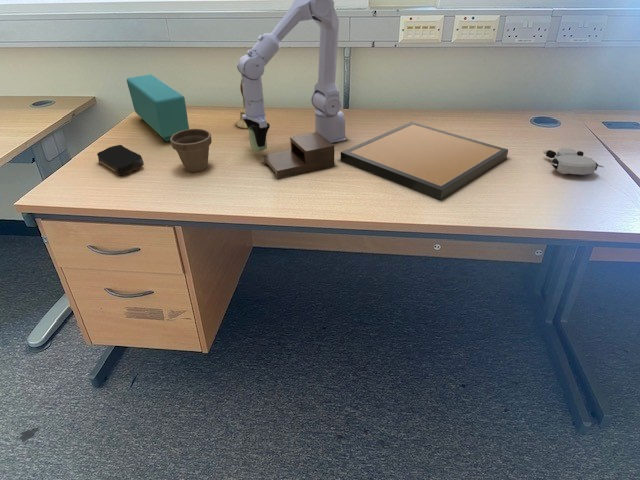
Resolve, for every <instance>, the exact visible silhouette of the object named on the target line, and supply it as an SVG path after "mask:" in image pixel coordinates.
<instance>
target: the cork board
mask: <svg viewBox="0 0 640 480" xmlns="http://www.w3.org/2000/svg"><path fill="white" fill-rule="evenodd" d="M508 154H509V149H507V148H504V147H501V146H497V145H494V144H490V143H488V142H483V141H480V140H477V139H473V138H471V137H470V138H469V137H466V136H463V135H459V134H456V133H452V132H449V131H445V130H442V129H439V128H434V127H432V126H428V125H423V124H420V123H418V122H414V121H409V122H407V123H405V124H403V125H401V126H400V125H399V126H398V127H396V128H393V129H391V130H389V131H387V132H384V133H382V134H380V135H377V136H375V137H372V138H370V139H368V140H365V141H362V142H361V143H359V144H356V145H354V146H352V147H349V148H346V149H344V150H343V151H340V162H342V163H345V164H347V165H350V166H353V167H355V168H358V169H360V170H363V171H364V172H365V171H366V172H368V173H369V174H373V175H376V176H377V177H378V176H379V177H381V178H383V179H385V180H388V181H390V182H393V183H396V184H398V185H400V186H403V187H406V188H407V189H411V190H414V191H416V192H419V193H421V194H424V195H425V196H428V197H431V198H434V199H435V200H439V201H442V200H443V199H445V198H446V197H448V196H450V195H451V194H453V193H454V192H456V191H457V190H459V189H461V188H463V187H464V186H466V185H467V184H468V183H470V182H472V181H474V179H476V178H478V177H480V176H482V175H483V174H484V173H486V172H487V171H489V170H490V169H492V168H494V167H496V166H497V165H498V164H500V163H502V162H504V161H505V160H507V158H508Z"/></svg>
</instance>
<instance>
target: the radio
mask: <svg viewBox="0 0 640 480" xmlns="http://www.w3.org/2000/svg"><path fill="white" fill-rule="evenodd" d="M126 84H127V88H128V91H129V94H130V98H131V103H132V106H133V109H134V112H135V113H136V115H137V116H139V117H140V118H141V119H142V120H143V122H145V123H146V124H147V125H148V126H149V127H150V128H152V130H154V131H155V133H157V135H159V136H160V137H161V138H163V140H164V142H171V141H170V138H171V136H172V135H173V134H175V133H177V132H179V131H183V130H187V129H190V126H189V117H188V111H187V104H186V98H185V96H184V95H182V94H181V93H179V92H178V91H177V90H175V89H174V88H172V87H171V86H169V85H168V84H166V83H165V82H163V81H162V80H160V78H159V79H158V77H156V76H155V75H153V74H151V73H150V74H143V75H138V76H133V77H132V76H131V77H127V78H126Z"/></svg>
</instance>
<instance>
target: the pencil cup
mask: <svg viewBox="0 0 640 480" xmlns="http://www.w3.org/2000/svg"><path fill="white" fill-rule="evenodd" d="M247 130H248V138H249V147H250V150H251V151H252V152H264V151H266V150H268V142H267V141H268V140H267V139H266V141H265V146H261V147H258V145H257V143H256V139H255V135H254V132H253V130H252V128H251V127H249V128H247Z"/></svg>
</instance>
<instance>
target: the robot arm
mask: <svg viewBox="0 0 640 480" xmlns="http://www.w3.org/2000/svg"><path fill="white" fill-rule="evenodd" d="M311 20H313V21H314V22H315V24H317V26H319V47H318V48H319V49H318V72H317V73H318V75H317V82H316V83H315V85H314V88H313V93H312V95H311V99H310V102H311V105H312V106H313V108H314V124H315V125H314V127H315V132H318V133H319V134H320V135H321V136H323V137H324V138H325V139H327V140H328V141H329V142H330V143H332V144H334V143H338V142H343V141H347V138H346V117H345V115H344V113H343V111H342V110H341V109H342V101H341V97H340V90H339V88H338V86H337V83H336V79H337V78H336V76H337V62H338V61H337V60H338V45H339V43H338V42H339V30H340V29H339V28H340V20H339V17H338V14H337V11H336V9H335V1H334V0H293V2H292V4H291V6H290V7H289V9H288V10H287V11H286V12H285V14H284V15H283V16H282V18H281V19H280V20H279V22H278V23H277V25H276V26H275V27H274V28H273V30H272V31H271V32H268V33H267V32H265V33H263V35H262V34H260V35H259V36H258V37H257V40H258V41H256V42H255V44H254V45H253V46H252V47H251V49H248V50H247V51H246V53H247V54H245V55H242V56H240V58H239V59H238V63H237V65H236V69H237V71H238V72H239V73H240V76H241V79H242V87H243V96H244V103H243V104H245V114H244V115H242V118H243V120H244V121H245V123H246V125H247V127H248V128H249V127H251V128H252V130H253V132H254V135H255V139H256V143H257V145H258V147H261V146H265V141H266V140H267V136H268V135H267V134H268V131H269V129H270V127H271V124H270V123H269V122H267V120H266V119H267V118H266V117H267V114H266V112H265V111H266V110H265V100H264V88H263V81H262V76H263V75H264V74H265V73H264V72H265V67H266V66H267V65H268V63H270V61H272V59H273V58H274V57H275V55H277V53H278V52H279V51H280V49H281V42H282V41H283V39H284V38H286V36H288V34H289V33H290V32H292V30H293V29H294V28H295V27H297V25H298V24H299V23H300V22H305V21H311ZM243 96H242V97H243ZM248 128H247V129H248Z"/></svg>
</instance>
